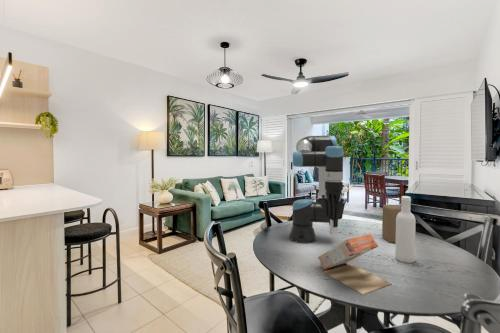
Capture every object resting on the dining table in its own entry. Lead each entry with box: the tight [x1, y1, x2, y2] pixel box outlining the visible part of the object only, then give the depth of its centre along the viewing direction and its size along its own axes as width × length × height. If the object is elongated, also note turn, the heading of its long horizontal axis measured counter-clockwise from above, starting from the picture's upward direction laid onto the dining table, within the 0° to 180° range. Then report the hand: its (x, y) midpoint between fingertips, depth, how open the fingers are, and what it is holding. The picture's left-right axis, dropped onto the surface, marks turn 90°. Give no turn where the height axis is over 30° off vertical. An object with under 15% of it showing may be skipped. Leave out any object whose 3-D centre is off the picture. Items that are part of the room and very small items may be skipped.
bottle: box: [394, 195, 417, 264], centre depth 115 cm, size 8×8×30 cm
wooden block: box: [381, 204, 402, 244], centre depth 142 cm, size 10×10×20 cm
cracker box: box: [318, 233, 379, 270], centre depth 103 cm, size 14×6×21 cm
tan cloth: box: [323, 263, 393, 296], centre depth 99 cm, size 19×16×1 cm
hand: (333, 233), depth 109 cm, fingers closed
